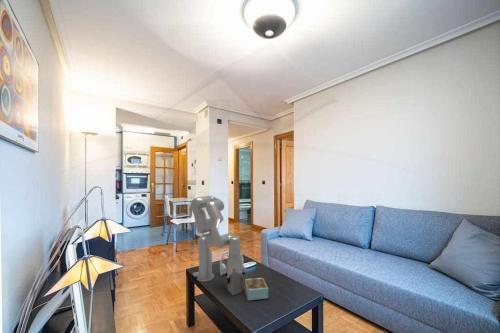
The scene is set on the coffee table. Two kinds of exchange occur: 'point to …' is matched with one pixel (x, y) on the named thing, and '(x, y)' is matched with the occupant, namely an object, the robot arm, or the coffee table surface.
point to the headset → (222, 265)
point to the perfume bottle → (235, 283)
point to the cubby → (254, 284)
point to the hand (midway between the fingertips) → (234, 282)
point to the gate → (257, 294)
